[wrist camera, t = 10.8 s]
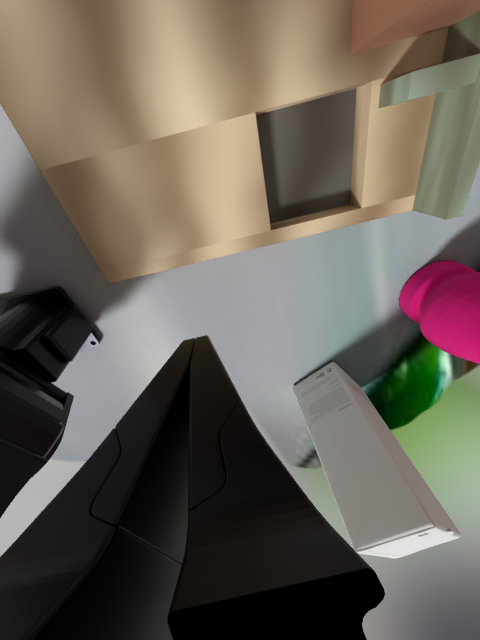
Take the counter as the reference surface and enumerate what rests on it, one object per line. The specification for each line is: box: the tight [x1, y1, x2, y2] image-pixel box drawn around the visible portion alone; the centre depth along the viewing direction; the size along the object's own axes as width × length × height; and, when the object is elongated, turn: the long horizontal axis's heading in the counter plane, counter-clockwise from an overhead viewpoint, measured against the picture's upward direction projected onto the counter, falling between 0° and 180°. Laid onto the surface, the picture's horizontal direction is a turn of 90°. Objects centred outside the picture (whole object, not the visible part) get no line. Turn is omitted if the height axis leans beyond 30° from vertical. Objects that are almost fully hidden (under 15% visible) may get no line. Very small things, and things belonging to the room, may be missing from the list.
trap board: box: [0, 0, 480, 284], centre depth 11 cm, size 24×22×5 cm
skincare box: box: [293, 362, 461, 559], centre depth 25 cm, size 8×7×16 cm
